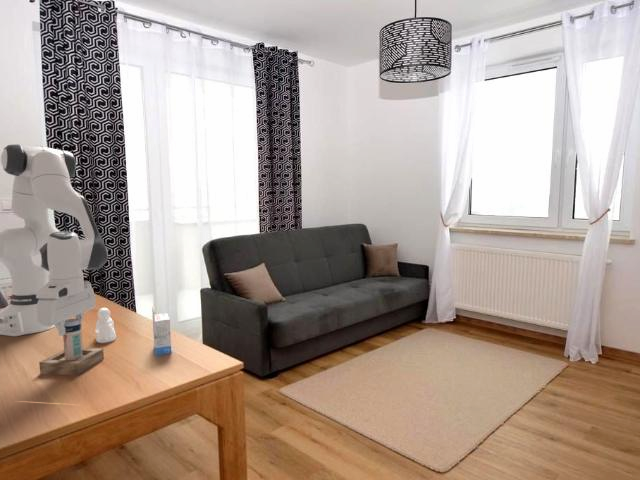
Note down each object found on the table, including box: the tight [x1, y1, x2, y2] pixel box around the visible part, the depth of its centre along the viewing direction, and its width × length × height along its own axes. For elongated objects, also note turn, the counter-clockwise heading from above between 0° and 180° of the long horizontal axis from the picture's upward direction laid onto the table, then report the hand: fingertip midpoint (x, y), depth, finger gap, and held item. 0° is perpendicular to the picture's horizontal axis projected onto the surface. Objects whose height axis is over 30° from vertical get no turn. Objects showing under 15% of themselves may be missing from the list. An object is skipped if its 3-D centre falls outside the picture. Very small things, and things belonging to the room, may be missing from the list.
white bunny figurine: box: [94, 307, 117, 344], centre depth 151 cm, size 6×8×12 cm
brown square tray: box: [38, 347, 105, 377], centre depth 129 cm, size 12×12×4 cm
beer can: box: [62, 318, 83, 361], centre depth 129 cm, size 5×5×12 cm
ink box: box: [151, 306, 172, 356], centre depth 141 cm, size 8×5×15 cm, turn 26°
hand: (70, 331), depth 128 cm, fingers closed on beer can, 5 cm apart
